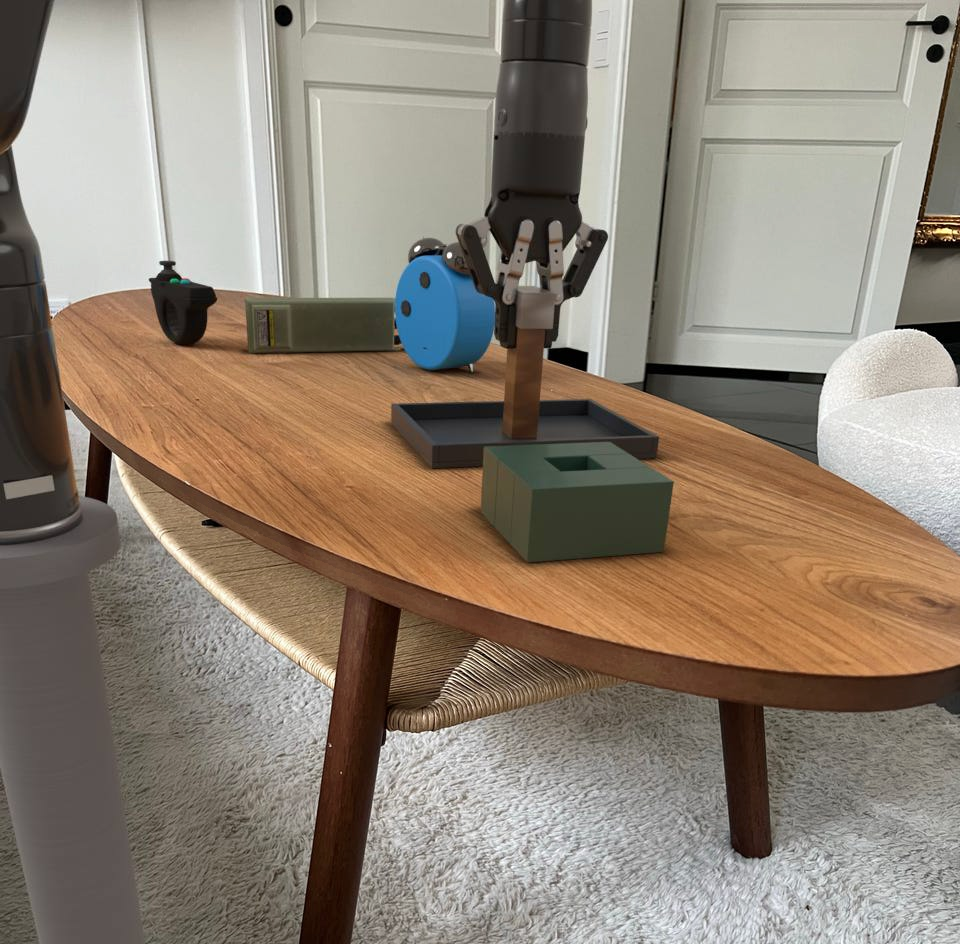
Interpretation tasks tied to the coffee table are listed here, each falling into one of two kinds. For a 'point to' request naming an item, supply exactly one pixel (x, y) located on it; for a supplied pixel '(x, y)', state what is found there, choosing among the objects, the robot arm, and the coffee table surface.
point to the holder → (574, 500)
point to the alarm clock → (442, 308)
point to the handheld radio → (320, 324)
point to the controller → (181, 305)
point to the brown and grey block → (526, 362)
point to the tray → (474, 425)
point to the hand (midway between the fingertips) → (525, 346)
